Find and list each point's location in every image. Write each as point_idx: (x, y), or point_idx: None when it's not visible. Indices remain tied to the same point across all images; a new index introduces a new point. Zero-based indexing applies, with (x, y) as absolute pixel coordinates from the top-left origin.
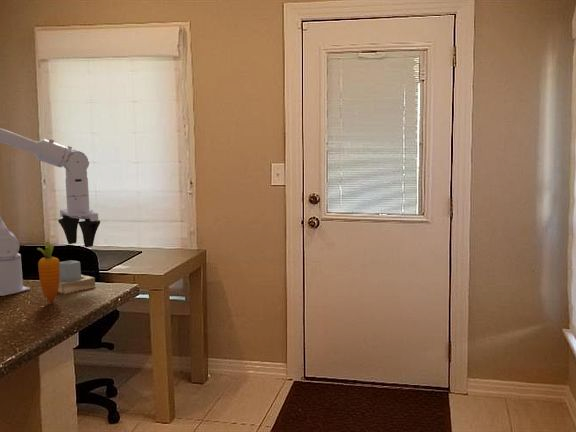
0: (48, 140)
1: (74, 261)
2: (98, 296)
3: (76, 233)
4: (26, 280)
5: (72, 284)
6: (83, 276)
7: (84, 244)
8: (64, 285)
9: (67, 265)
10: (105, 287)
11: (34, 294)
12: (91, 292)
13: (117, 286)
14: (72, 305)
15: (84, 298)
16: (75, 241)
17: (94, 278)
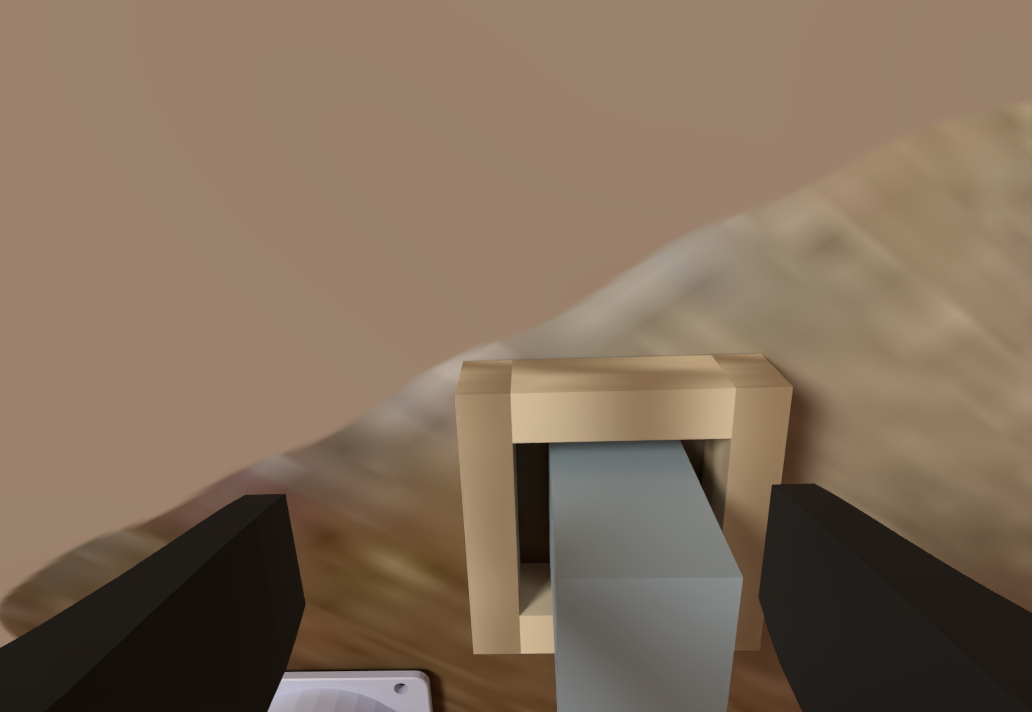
0: None
1: (666, 602)
2: (1013, 499)
3: (181, 598)
4: (100, 551)
5: None
6: (653, 421)
7: (777, 643)
8: (748, 643)
9: (723, 699)
10: (856, 310)
11: (551, 697)
12: (872, 466)
13: (934, 221)
14: None
15: None
16: (275, 522)
17: (788, 386)
